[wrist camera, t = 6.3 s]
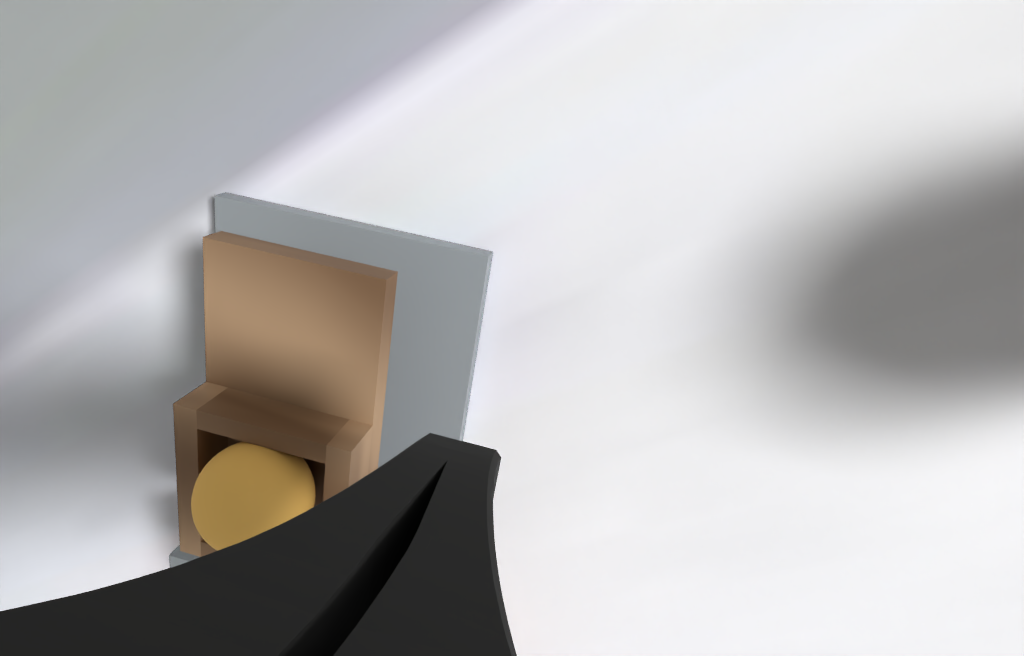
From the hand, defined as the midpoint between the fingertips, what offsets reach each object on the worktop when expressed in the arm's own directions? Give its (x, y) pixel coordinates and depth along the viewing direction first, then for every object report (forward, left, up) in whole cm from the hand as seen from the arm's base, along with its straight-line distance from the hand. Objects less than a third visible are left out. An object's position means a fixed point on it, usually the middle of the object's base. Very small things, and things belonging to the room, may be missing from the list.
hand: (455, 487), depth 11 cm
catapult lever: (-5, +6, -6) cm, 11 cm away
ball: (-5, +6, -4) cm, 9 cm away
